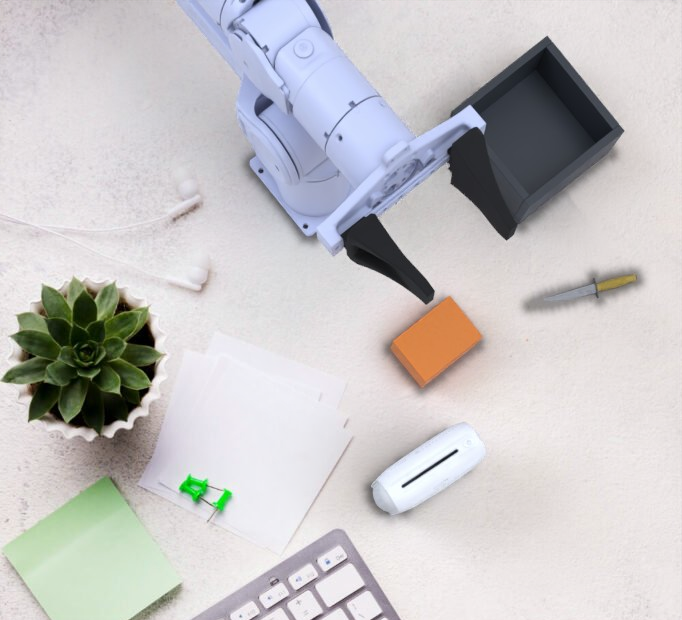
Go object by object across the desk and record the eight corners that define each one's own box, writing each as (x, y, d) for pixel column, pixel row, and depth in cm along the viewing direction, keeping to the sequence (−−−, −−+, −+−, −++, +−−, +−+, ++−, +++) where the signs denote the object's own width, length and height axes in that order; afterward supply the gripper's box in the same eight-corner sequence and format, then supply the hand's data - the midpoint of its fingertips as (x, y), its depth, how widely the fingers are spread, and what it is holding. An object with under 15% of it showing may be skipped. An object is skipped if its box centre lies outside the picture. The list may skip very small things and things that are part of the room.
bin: (444, 133, 84) (451, 110, 80) (535, 61, 85) (547, 34, 80) (518, 224, 84) (529, 206, 80) (609, 152, 85) (624, 130, 80)
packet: (389, 349, 84) (392, 341, 80) (445, 304, 84) (449, 295, 81) (421, 388, 84) (425, 382, 80) (476, 344, 84) (483, 336, 81)
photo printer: (450, 427, 84) (471, 410, 72) (474, 464, 84) (499, 452, 71) (363, 485, 84) (369, 477, 71) (387, 521, 84) (397, 520, 71)
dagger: (533, 315, 84) (529, 295, 84) (531, 315, 85) (527, 295, 85) (639, 287, 84) (635, 266, 83) (636, 287, 85) (632, 267, 84)
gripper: (272, 163, 60) (395, 310, 58) (434, 34, 60) (559, 178, 59) (284, 206, 67) (393, 338, 65) (428, 90, 67) (540, 220, 66)
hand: (471, 265), depth 62 cm, fingers open, 7 cm apart
